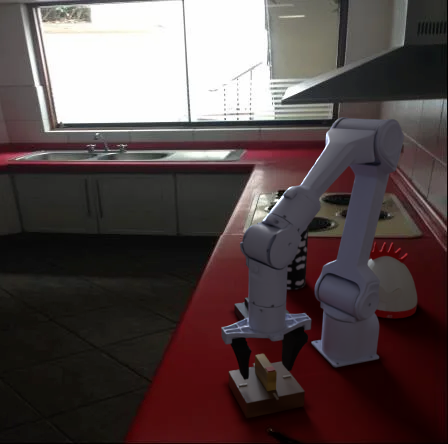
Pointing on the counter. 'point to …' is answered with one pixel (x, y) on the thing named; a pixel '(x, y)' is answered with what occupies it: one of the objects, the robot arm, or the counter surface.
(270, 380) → the yellow rectangular block
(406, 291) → the kitchen timer
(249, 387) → the panel
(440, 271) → the counter surface
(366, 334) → the robot arm
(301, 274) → the white-spotted black cylinder
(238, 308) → the grey stepped block
